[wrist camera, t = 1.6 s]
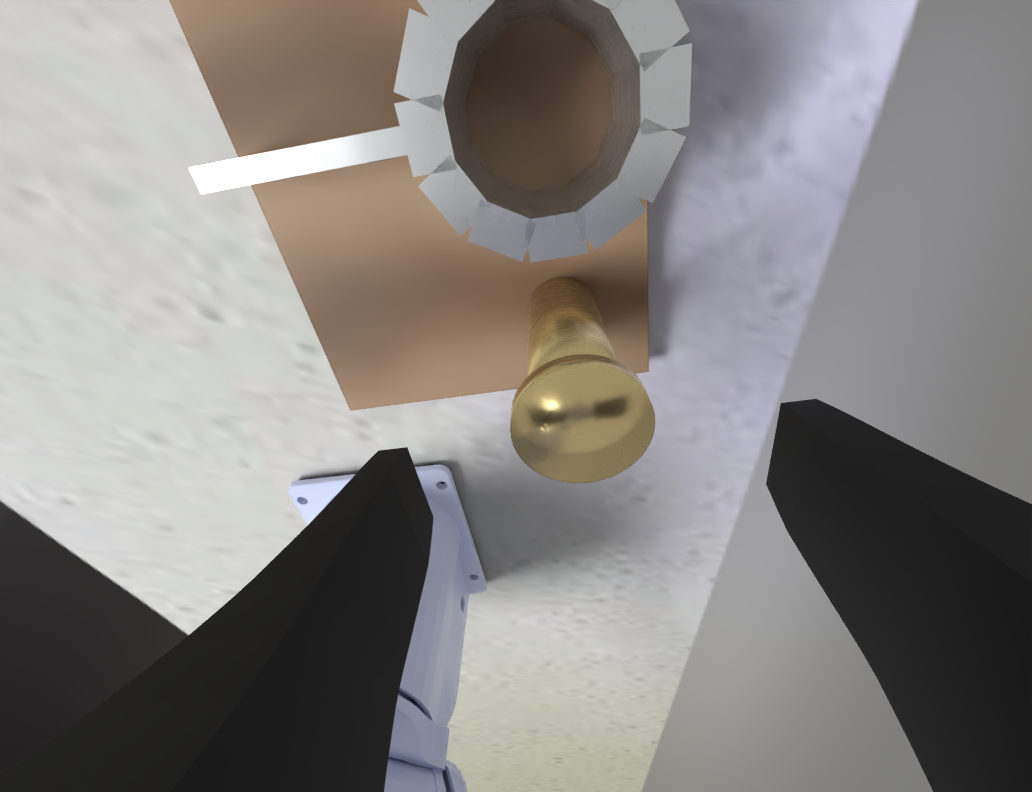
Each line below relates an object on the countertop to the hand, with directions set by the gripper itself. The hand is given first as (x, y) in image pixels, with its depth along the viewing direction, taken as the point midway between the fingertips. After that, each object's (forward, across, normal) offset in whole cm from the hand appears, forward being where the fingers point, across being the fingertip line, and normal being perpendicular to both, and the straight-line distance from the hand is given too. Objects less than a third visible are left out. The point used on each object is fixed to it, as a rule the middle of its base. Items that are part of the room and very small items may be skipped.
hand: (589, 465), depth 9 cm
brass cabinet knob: (+8, 0, 0) cm, 8 cm away
